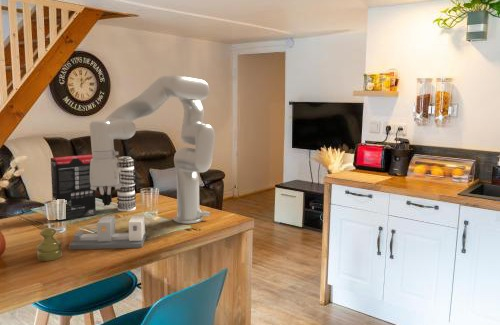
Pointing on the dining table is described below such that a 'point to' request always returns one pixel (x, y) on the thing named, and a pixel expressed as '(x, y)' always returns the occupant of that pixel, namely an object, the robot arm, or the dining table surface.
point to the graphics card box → (73, 185)
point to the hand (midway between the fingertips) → (107, 204)
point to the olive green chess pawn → (49, 246)
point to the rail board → (113, 237)
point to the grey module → (106, 228)
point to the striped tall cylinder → (126, 185)
